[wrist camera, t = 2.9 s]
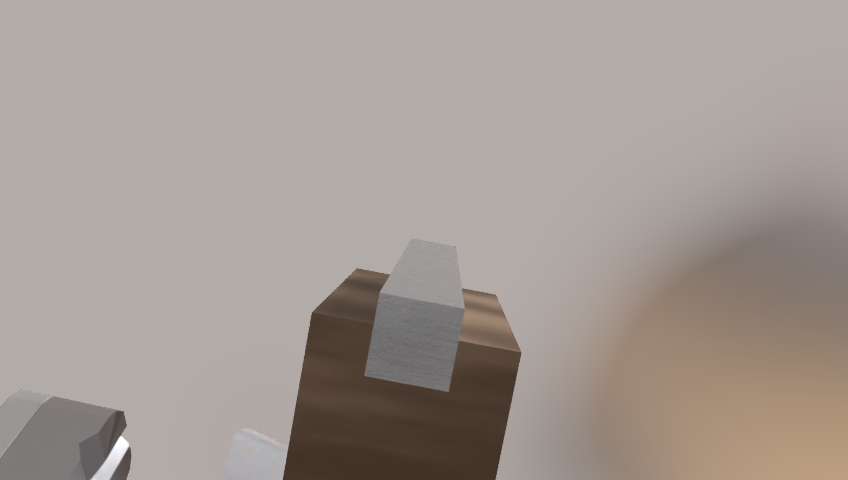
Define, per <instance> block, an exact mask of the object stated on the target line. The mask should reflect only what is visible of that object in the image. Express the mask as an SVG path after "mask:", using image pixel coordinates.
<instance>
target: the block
mask: <svg viewBox="0 0 848 480" xmlns="http://www.w3.org/2000/svg"><path fill="white" fill-rule="evenodd" d="M464 311H465V307H464V300H463V293H462V287H461V280H460V273H459V267H458V260H457V253H456V247H453V246H448V245H443V244H438V243H432V242H427V241H422V240H417V239H411V241H410V243H409V244H408V246H407V248H406V249H405V251H404V253H403V254H402V256H401V258H400V259H399V261H398V263H397V264H396V266H395V268H394V269H393V271H392V273H391V274H390V276H389V278H388V279H387V281H386V283H385V284H384V286H383V288H382V289H381V291H380V293H379V298H378V304H377V309H376V314H375V320H374V325H373V331H372V336H371V342H370V347H369V353H368V358H367V364H366V369H365V375H364V376H367V377H373V378H378V379H383V380H388V381H393V382H399V383H404V384H409V385H414V386H419V387H424V388H430V389H435V390H440V391H445V392H449V387H450V382H451V377H452V372H453V367H454V362H455V357H456V352H457V346H458V341H459V336H460V331H461V326H462V321H463V316H464Z"/></svg>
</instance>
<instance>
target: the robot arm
mask: <svg viewBox="0 0 848 480" xmlns="http://www.w3.org/2000/svg"><path fill="white" fill-rule="evenodd" d="M126 426H127V425H126V420H125V416H124V412H123V411H120V410H115V409H110V408H106V407H101V406H96V405H91V404H87V403H82V402H78V401H73V400H68V399H63V398H59V397H56V396H51V395H46V394H41V393H35V392H30V391H25V390H20V391H18V392H17V393H15V394H13V395H12V396H10V397H9V398H8V399H7V400H6V401H5V402H4V403H3V405H2V406H1V407H0V480H126V479H127V476H128V473H129V470H130V463H131V450H130V444H129V443H128V442H127V441H126V440H124V438H123V437H122V436H121V434H122V432H123V431H124V429H125V428H126Z"/></svg>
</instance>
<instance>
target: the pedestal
mask: <svg viewBox="0 0 848 480" xmlns="http://www.w3.org/2000/svg"><path fill="white" fill-rule="evenodd" d="M389 276H390V275H389V274H384V273H378V272H373V271H368V270H362V269H358V268H357V269H356V270H355V271H354V272H353V273H352V274H351V275H350V276H349V277H348V278H347V279H346V280H345V281H344V282H343V283H342V284H341V285H340V286H339V287H338V288H337V289H336V290H335V291H334V292H332V293H331V294H330V295H329V296H328V297H327V298H326V299H325V300H324V301H323V302H322V303H321V304H320V305H319V306H318V307H317V308H316V309H315V310H314V311H313V312H312V315H311V321H310V327H309V333H308V338H307V345H306V350H305V356H304V362H303V368H302V373H301V379H300V384H299V390H298V396H297V402H296V408H295V413H294V419H293V425H292V430H291V436H290V442H289V448H288V453H287V459H286V465H285V471H284V476H283V480H495V479H496V474H497V469H498V464H499V459H500V455H501V450H502V445H503V440H504V435H505V430H506V425H507V420H508V415H509V410H510V405H511V401H512V396H513V391H514V386H515V381H516V376H517V371H518V367H519V362H520V357H521V351H520V348H519V346H518V344H517V342H516V339H515V337H514V335H513V333H512V330H511V328H510V326H509V323H508V321H507V319H506V317H505V314H504V312H503V310H502V308H501V305H500V303H499V301H498V299H497V296H496V295H494V294H488V293H483V292H478V291H473V290H468V289H462V293H463V300H464V307H465V311H464V316H463V321H462V326H461V331H460V336H459V341H458V346H457V352H456V357H455V362H454V367H453V372H452V377H451V382H450V387H449V392H445V391H440V390H435V389H430V388H424V387H419V386H414V385H409V384H404V383H399V382H393V381H388V380H383V379H378V378H373V377H367V376H364V375H365V369H366V364H367V358H368V353H369V347H370V342H371V336H372V331H373V325H374V320H375V314H376V309H377V304H378V298H379V293H380V291H381V289H382V288H383V286H384V284H385V283H386V281H387V279H388V278H389Z"/></svg>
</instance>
